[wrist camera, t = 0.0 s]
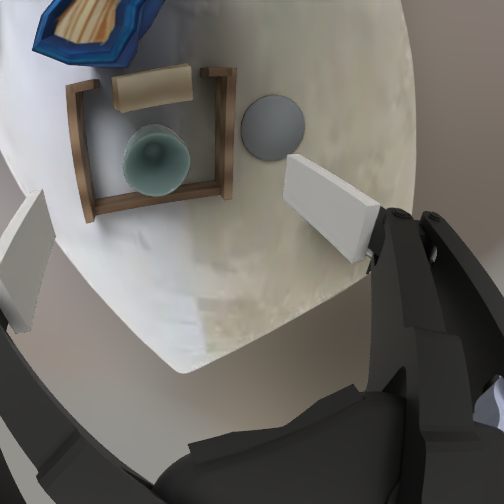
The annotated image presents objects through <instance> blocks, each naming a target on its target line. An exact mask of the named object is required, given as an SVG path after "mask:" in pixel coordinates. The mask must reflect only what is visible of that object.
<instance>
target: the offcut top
mask: <svg viewBox="0 0 504 504" xmlns="http://www.w3.org/2000/svg"><path fill="white" fill-rule="evenodd" d="M117 86H118V95H119V103H120V110H121V113H125V112H130V111H134V110H139V109H143V108H148V107H153V106H159V105H164V104H170V103H176V102H182V101H189V100H193V89H192V74H191V66H187V67H179V68H172V69H165V70H159V71H153V72H147V73H142V74H137V75H132V76H127V77H123V78H118V79H117Z"/></svg>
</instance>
